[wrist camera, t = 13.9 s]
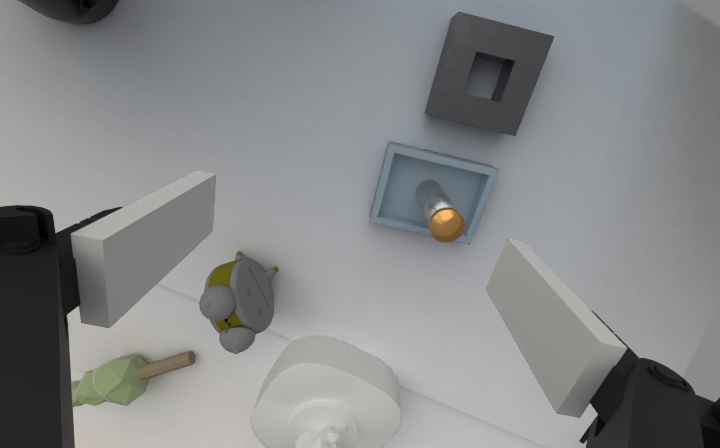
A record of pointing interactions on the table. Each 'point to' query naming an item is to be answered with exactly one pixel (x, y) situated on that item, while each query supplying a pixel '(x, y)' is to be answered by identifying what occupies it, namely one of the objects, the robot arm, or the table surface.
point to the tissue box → (327, 398)
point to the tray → (416, 165)
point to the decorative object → (123, 379)
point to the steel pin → (439, 212)
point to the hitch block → (515, 81)
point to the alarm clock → (238, 302)
